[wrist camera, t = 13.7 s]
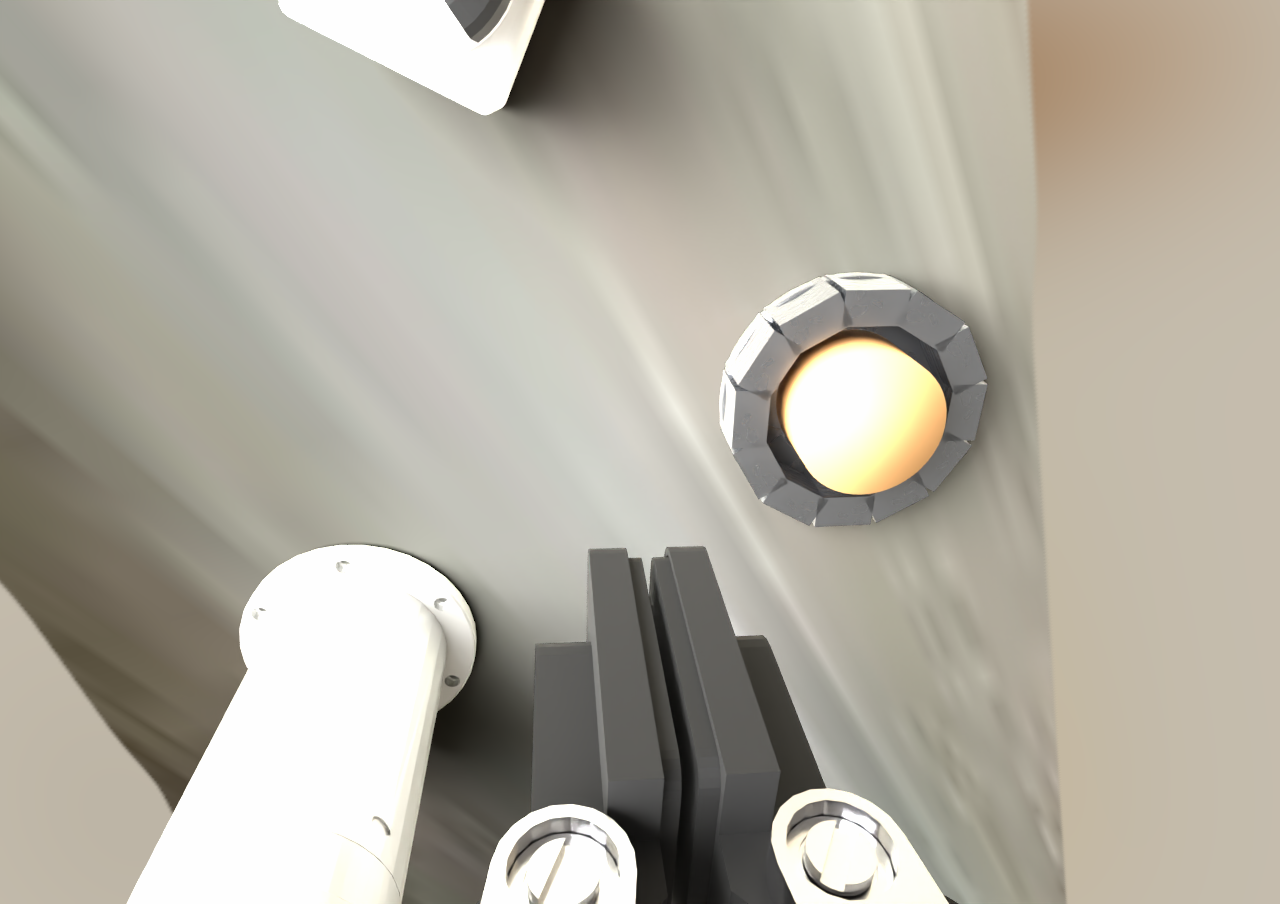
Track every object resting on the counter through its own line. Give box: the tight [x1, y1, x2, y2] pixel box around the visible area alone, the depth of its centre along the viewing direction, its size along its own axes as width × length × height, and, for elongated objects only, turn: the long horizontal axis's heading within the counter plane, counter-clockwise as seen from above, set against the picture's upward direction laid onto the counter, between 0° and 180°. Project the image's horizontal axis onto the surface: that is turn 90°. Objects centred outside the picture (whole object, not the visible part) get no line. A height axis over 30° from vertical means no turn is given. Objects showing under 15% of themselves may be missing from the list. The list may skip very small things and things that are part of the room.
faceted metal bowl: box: [719, 272, 988, 527], centre depth 38 cm, size 13×13×3 cm
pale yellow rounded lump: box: [776, 330, 947, 495], centre depth 36 cm, size 7×7×4 cm
